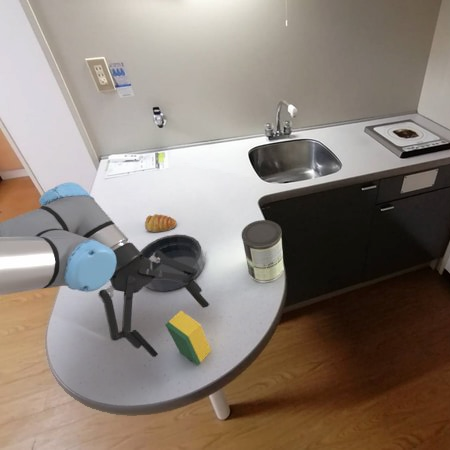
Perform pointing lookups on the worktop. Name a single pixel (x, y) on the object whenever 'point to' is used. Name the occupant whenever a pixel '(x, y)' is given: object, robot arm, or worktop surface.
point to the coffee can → (263, 250)
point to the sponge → (188, 337)
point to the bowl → (174, 258)
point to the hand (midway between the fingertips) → (182, 329)
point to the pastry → (159, 223)
